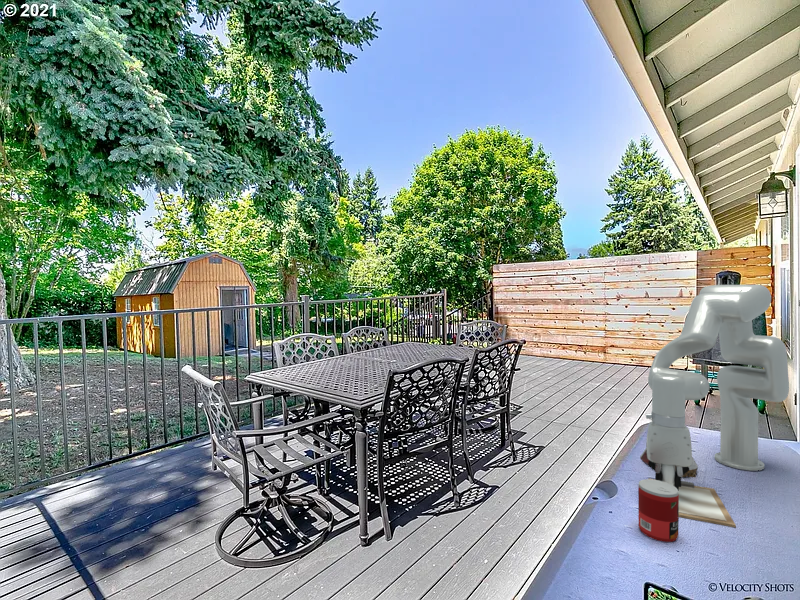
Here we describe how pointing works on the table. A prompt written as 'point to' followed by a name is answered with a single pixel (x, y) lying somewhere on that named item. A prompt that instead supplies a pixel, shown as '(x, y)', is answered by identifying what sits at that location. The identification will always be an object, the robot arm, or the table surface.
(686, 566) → the table surface
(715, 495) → the clipboard
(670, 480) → the marker
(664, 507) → the canned food
